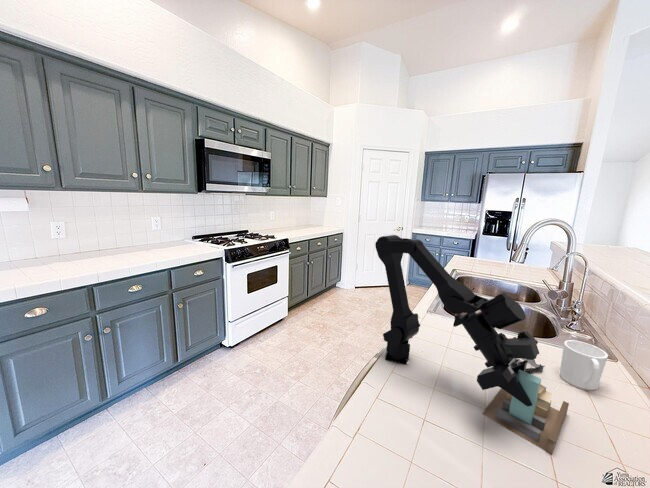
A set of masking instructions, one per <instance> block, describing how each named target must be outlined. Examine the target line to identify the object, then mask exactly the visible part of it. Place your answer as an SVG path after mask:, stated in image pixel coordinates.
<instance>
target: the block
mask: <svg viewBox="0 0 650 488" xmlns="http://www.w3.org/2000/svg"><path fill="white" fill-rule="evenodd" d="M518 372H520V374H519V382H520V384H521V385H522V387H523V389H524V390H525V392H526V394H527V396H528V397H529V399H530V401H531V403H532V406H526V405H525V404H523V403H522V402H520V401H519V400H518V399H516V398H515V397H513V396H512V399H511V404H510V410H509V414H511V415H513V416H515V417H516V418H518V419H520V420H522V421H524V422H526V423H527V424H529V425H531V426H532V421H533V416H534V411H535V407H536V402H537V397H538V392H539V387H540V384H541V382H542V378H540V377H538V376H536V375H534V374H532V373H531V374H529V373H527V372H524V371H522V370H520V369H519V371H518Z"/></svg>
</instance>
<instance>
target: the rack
mask: <svg viewBox="0 0 650 488" xmlns="http://www.w3.org/2000/svg"><path fill="white" fill-rule="evenodd" d="M511 399H512V395H511V394H509V393H508V392H506V391H505V390H503V389H502V388H500V389H499V391H498V392H497V393H496V395H494V397H493V399H492V400H491V401H490V402H489V403H488V405H487V406H486V408H485V409H484V410H483V412H482V413H481V415H483V416H485V417H487V418H488V419H490V420H492V421H493V422H495V423H497V424H499V425H500V426H502V427H503V428H505V429H507V430H509V431H511V432H512V433H514V434H516V435H517V436H519V437H521V438H522V439H524V440H526V441H527V442H530V443H531V444H533V445H534V446H536V447H537V448H539V449H541V450H543V451H545V452H547V453H548V454H550V455H552V454H553V452H554V449H555V447H556V444H557V441H558V438H559V436H560V433H561V430H562V427H563V424H564V421H565V419H566V417H567V414H568V409H569V404H570V402H566V401H564V400H563V401H562V404H561V406H560V409H556V408H554V407H552V406H551V405H552V392H550V391H547V386H544V384H543V385H542V384H541V383H540V387H539V392H538V397H537V402H536V407H535V411H534V416H533V421H532V426H531V425H529V424H527V423H526V422H524V421H522V420H520V419H518V418H516V417H515V416H513V415H511V414H509V410H510V404H511Z"/></svg>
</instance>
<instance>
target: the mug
mask: <svg viewBox="0 0 650 488" xmlns="http://www.w3.org/2000/svg"><path fill="white" fill-rule="evenodd" d="M608 358H609V355H608V353H606V351H604V350H603V349H601V348H600V347H598V346H595V345H593V344H590V343H587V342H584V341H580V340H576V339H575V340H574V339H569V340H568V339H567V340H565V341H564V342H563V349H562V355H561V362H560V367H559V376H560V378H561V380H562V381H564V382H565V383H567V384H568V385H570V386H572V387H575V388H577V389H580V390H583V391H588V392H593V391H596V390H598V387H599V383H600V382H601V378H602V375H603V372H604V370H605V369H604V368H605V366H606V363H607V360H608Z"/></svg>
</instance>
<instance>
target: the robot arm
mask: <svg viewBox="0 0 650 488" xmlns="http://www.w3.org/2000/svg"><path fill="white" fill-rule="evenodd" d="M374 246H375V251H376V254H377V256H378V258H379V260H380V261H381V262H382V264H383V265H384V266H385V267H384V268H385V274H386V280H387V283H388V284H387V285H388V289H389V295H390V301H391V306H392V314H391V319H390V329H389V330H388V331H385V332H384V333H383V334H382V337H383V341H384V342H387V343H386V354H385V357H384V359H385V360H386V361H389V362H393V363H396V364H399V365H400V364H401V365H407V363H408V361H409V360H410V349H411V344H410V343H409V340H410V339H412V338H413V337H414V336H416V335H418V333H419V330H420V327H421V324H420V322H419V314H418V313H414V312H413V311H412V310H411V308H410V306H409V300H408V294H407V290H406V284H405V278H404V274H403V268H402V259H403V256H404V254H408V255H409V256H410V257H411V259H412V260H413V261H414V262H415V263H416V265H417V266H418V267H419V268H420V269H421V271H422V272H423V273H424V274H425V276H427V279H429V280H430V281H431V282H432V284H433V285H434V286H435V288H436V290H437V295H438V298H439V299H440V300H441V301H440V302H441V303H442V305H443V306H444V307H445V309H446V310H447V311H448V313H449V312H450V313H451V314H455V315H454V321H453V324H452V326H453V327H454V328H456V327H458V326H461V325H462V327H464V330H465V331H466V333H467V334H468V335H469V336H470V338H471V340H472V341H473V343H474V344H475V345H474V346H473V349H474V351H475V352H477V351H480V353H481V354H482V356H483V357H484V359H485V360H486V362H485V363H484V365H485V366H486V368H484V369H482V370H481V372H480V373H478V375H477V376H476V383H477V384H478V385H479V387H480V388H481V390H482V391H485V390H489V389H493V388H497V387H499V388H500V389H501V388H502V389H503V390H505V391H506V392H508V393H509V394H511V395H512V396H513V397H515V398H516V399H518V400H519V401H520V402H522V403H523V404H525V405H526V406H532V403H531V401H530V399H529V397H528V396H527V394H526V392H525V390H524V389H523V387H522V385H521V384H520V382H519V374H520V372H518V371H519V369H520V370H522V371H524V372H525V370H526V369H527V366H528V364H529V363H528V360H536V359H537V356H538V355H540V351H539V350H540V349H539V348H538V343H539V341H538V340H537V339H535V336H533V335H532V334H531V333H530V332H529V331H525V330H520V331H519V333H518V334H517V337H516V336H513V337H511V338H510V337H509V338H508V337H507V336H506V335H505V334H504V333H503V332H500V333H499V332H498V330H502V329H505V328H507V327H510V326H513V325H515V324H517V323H520V322H522V321H525V320H526V312H525V311H524V309H523V308H522V306H521V304H520V303H518V302H517V301H516V300H515V299H513V298H512V297H511V296H508V295H507V293H506V292H505V291H503V292H501V293H499V294H497V295H496V296H494V297H493V298H491V299H487V298H485V297H483V296H481V295H477V294H475V293H474V292H473V291H472V290H471V289H470V288H469V287H467V286H466V284H464V283H463V282H461V281H459V280H458V279H456V278H454V277H452V276H451V274H450V273H449V272H448V271H447V270H446V269H445V268H444V267H443V266H442V265H441V262H439V261H438V259H436V258H435V256H434V255H433V254H432V253H431V252H430V251H429V250H428V248H427V247H426V246H425V245H424V242H423V241H422V240H421V239H419V238H417V239H414V238H413V239H412V238H405V237H404V238H403V237H400V236H399V235H397V234H391V235H384V236H380V237H378V238H377V240H376V241H375V245H374ZM478 311H479V312H478ZM496 329H497V330H496ZM523 359H527V360H525V361H524V360H523Z"/></svg>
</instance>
